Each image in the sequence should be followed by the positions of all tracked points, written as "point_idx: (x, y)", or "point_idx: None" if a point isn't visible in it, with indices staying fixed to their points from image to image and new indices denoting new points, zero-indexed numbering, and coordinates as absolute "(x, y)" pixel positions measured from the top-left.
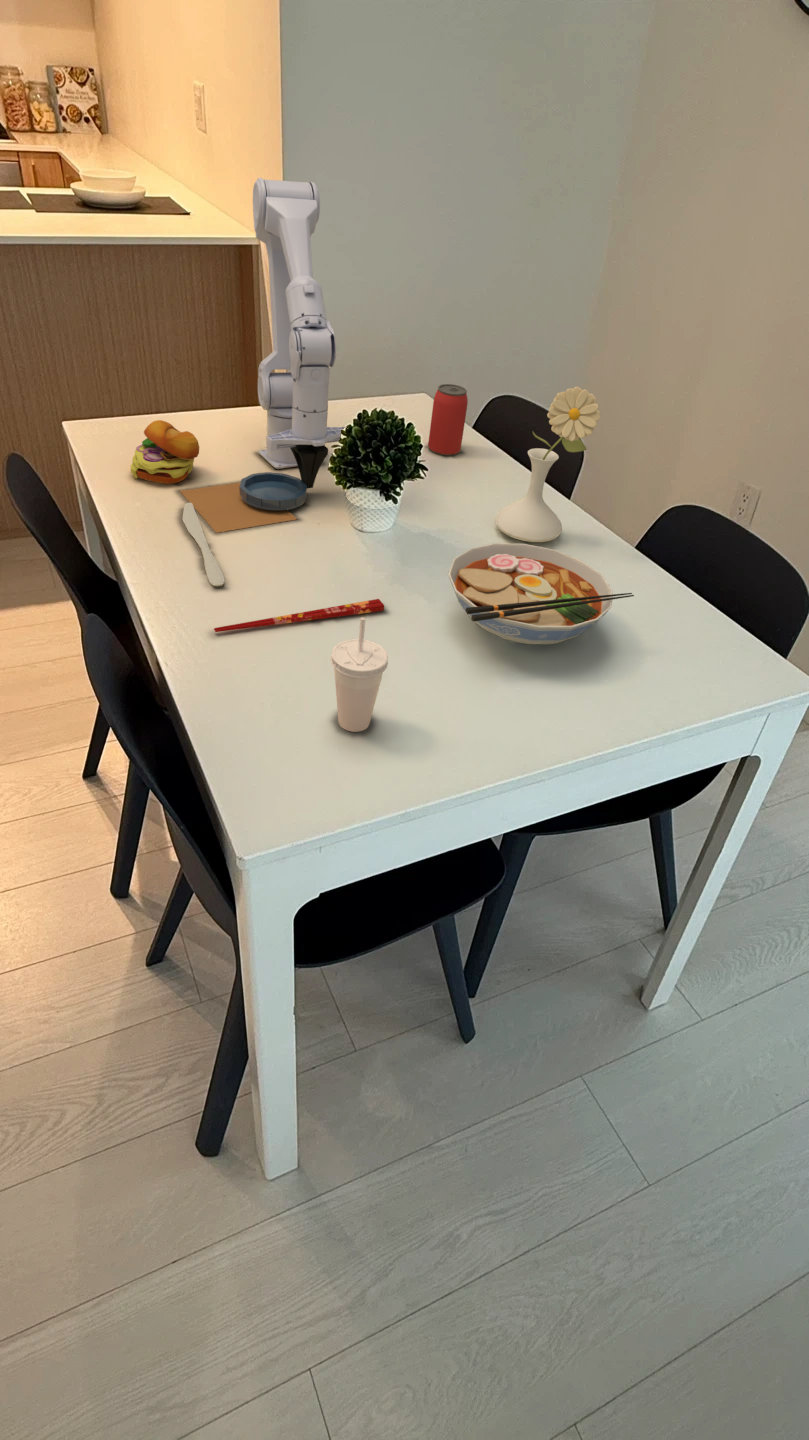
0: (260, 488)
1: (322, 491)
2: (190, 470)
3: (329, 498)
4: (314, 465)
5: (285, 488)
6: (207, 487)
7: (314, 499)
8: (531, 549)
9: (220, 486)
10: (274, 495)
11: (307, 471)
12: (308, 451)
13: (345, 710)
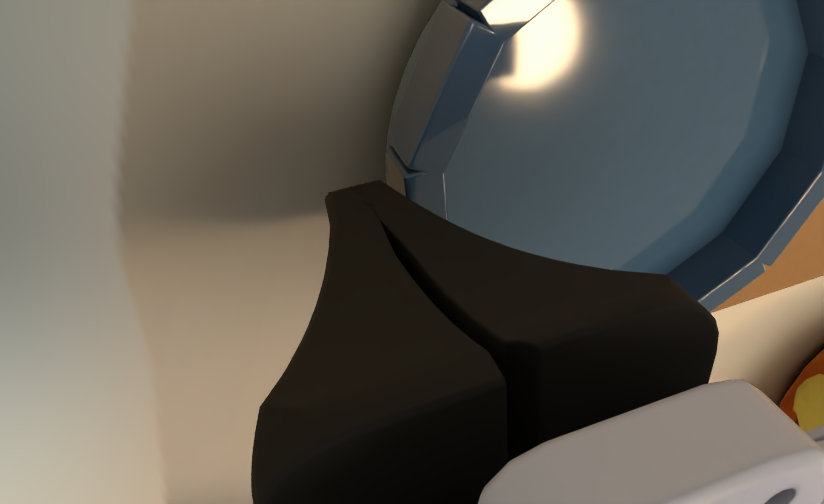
0: (662, 213)
1: (203, 243)
2: (818, 385)
3: (166, 118)
4: (406, 287)
5: (517, 211)
6: (796, 280)
7: (306, 110)
8: None
9: (743, 292)
10: (639, 104)
11: (460, 238)
12: (583, 405)
13: None
